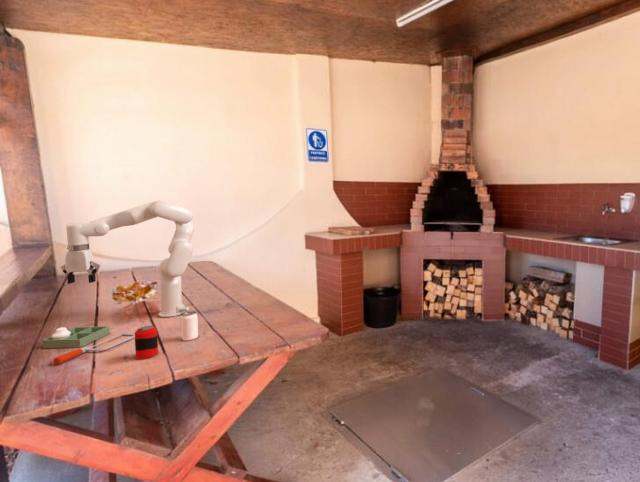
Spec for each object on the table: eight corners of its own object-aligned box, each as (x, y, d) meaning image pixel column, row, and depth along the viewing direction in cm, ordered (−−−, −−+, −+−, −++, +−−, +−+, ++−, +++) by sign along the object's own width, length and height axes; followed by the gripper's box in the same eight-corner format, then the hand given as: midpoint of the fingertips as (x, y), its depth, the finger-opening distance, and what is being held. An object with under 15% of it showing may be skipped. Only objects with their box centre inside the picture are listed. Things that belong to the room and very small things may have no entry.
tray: (109, 333, 191) (109, 326, 191) (80, 347, 175) (79, 339, 175) (75, 334, 191) (75, 327, 190) (42, 348, 174) (42, 340, 174)
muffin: (70, 338, 183) (69, 323, 183) (72, 341, 179) (71, 326, 179) (51, 342, 179) (50, 327, 178) (53, 346, 175) (52, 330, 174)
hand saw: (121, 330, 190) (141, 330, 190) (121, 336, 190) (141, 336, 190) (52, 357, 158) (76, 357, 158) (52, 365, 158) (76, 365, 158)
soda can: (131, 357, 164) (130, 330, 163) (150, 350, 171) (149, 323, 170) (143, 360, 161) (141, 332, 161) (162, 353, 168) (161, 326, 168)
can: (185, 342, 180) (184, 316, 179) (179, 339, 183) (178, 314, 183) (200, 337, 185) (199, 312, 185) (194, 334, 189) (193, 310, 188)
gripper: (52, 250, 186) (56, 285, 187) (91, 248, 187) (94, 283, 188) (67, 247, 193) (70, 281, 194) (103, 246, 194) (106, 279, 195)
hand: (81, 282), depth 191 cm, fingers open, 9 cm apart
